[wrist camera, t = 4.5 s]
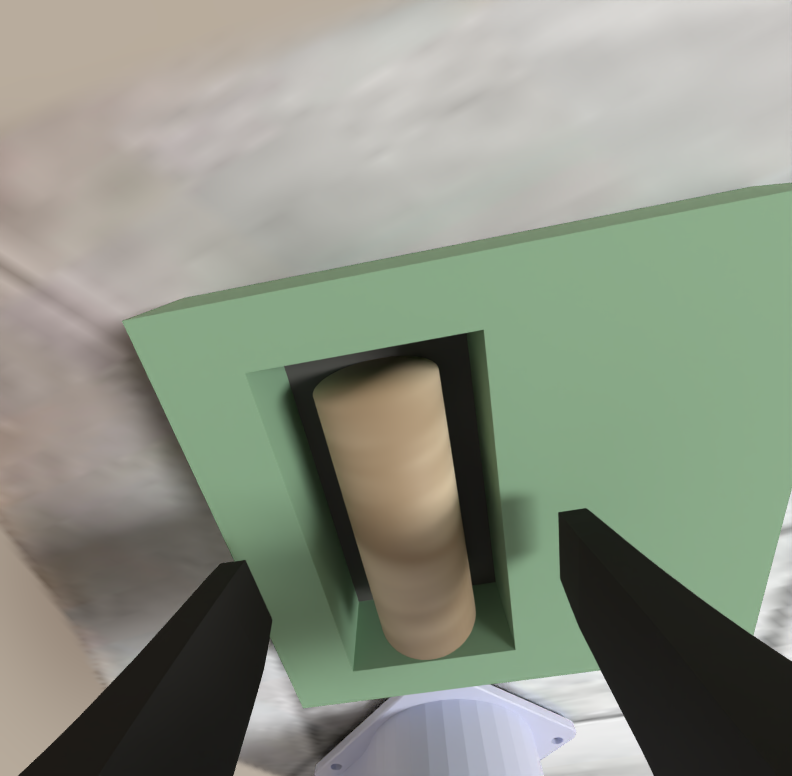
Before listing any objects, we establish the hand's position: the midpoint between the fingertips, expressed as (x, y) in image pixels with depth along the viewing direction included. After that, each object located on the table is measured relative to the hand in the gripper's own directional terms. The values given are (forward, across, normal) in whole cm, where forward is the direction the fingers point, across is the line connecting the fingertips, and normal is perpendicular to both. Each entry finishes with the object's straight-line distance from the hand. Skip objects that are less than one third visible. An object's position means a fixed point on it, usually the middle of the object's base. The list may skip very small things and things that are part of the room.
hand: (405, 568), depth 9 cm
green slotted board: (+3, -2, 0) cm, 4 cm away
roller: (+2, 0, 0) cm, 2 cm away
